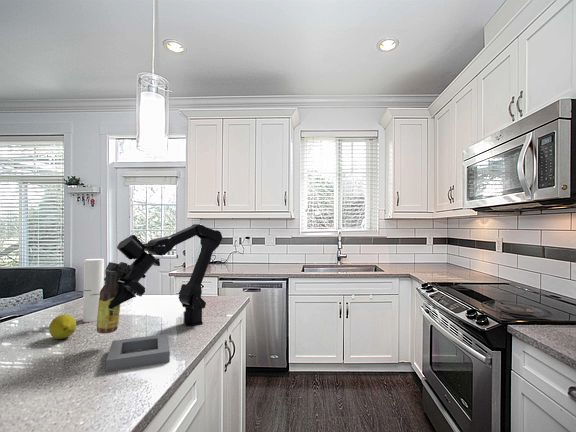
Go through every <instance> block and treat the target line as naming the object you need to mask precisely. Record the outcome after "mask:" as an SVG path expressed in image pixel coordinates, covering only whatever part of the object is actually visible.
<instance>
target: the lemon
mask: <svg viewBox="0 0 576 432" xmlns="http://www.w3.org/2000/svg"><path fill="white" fill-rule="evenodd" d="M76 330H77V321H76V319H75V317H73V315H70V314H61V315H58V316H56V317H54V318H53V319H52V320H51V322H50V323H49V325H48V331H49V332H48V333H49V334H50V336H51V337H52V338H54V339H55V340H56V339H58V340H63V339H66V338H68V337H70V336H72V335H73V334H74V333H75V331H76Z"/></svg>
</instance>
